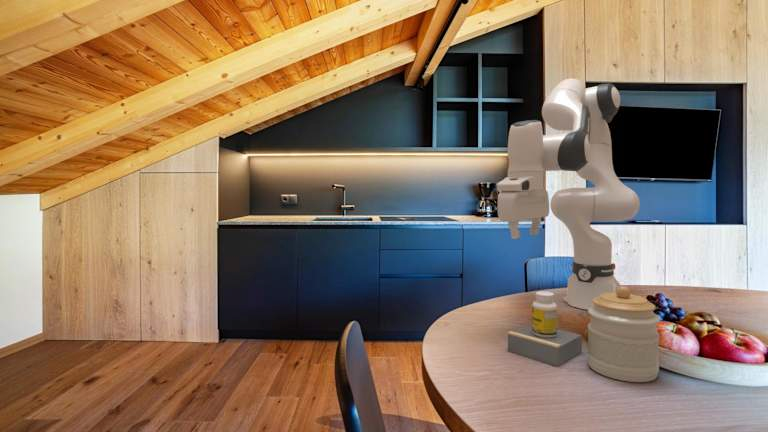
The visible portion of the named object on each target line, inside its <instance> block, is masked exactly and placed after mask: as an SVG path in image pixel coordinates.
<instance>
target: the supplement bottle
mask: <svg viewBox="0 0 768 432" xmlns="http://www.w3.org/2000/svg"><path fill="white" fill-rule="evenodd" d="M535 299H536V300H535V301H533V302H532V305H531V306H532V307H531V308H532V313H531V314H532V319H531V320H532V321H531V322H532V323H531V324H532V332H533V334H534V335H536V336H539V337H543V338H552V337H555V336H556V335H557V329H558V305H557V303H556V302H554V300H555V294H554V293H553V292H551V291H542V290H541V291H536V292H535Z"/></svg>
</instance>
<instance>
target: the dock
mask: <svg viewBox="0 0 768 432" xmlns="http://www.w3.org/2000/svg"><path fill="white" fill-rule="evenodd" d="M582 344H583V334H579V333H574V332H571V331H567V330H562V329H559V328H557V335H556V336H555V337H552V338H543V337H539V336H536V335H534V334H533V332H532V323H531V324H528V325H526V326H524V327H521V328H519V329H516V330H515V331H512V330H510V331H507V351H508V352H510V353H513V354H517V355H520V356H523V357H526V358H530V359H533V360H536V361H539V362H543V363H546V364H549V365H551V366H555V367H559V366H561V365H563V364H564V363H565V362H568V361H570V360H571V359H572V358H574V357H576V356H577V355H579V354H581V353H582V352H583V348H582V346H583V345H582Z"/></svg>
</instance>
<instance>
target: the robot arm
mask: <svg viewBox="0 0 768 432" xmlns="http://www.w3.org/2000/svg"><path fill="white" fill-rule="evenodd" d="M620 106H621V95H620V92H619V90H618V89H617V87H616V86H615V85H614V84H612V83H601V84H598V85H595V86H592V87H587V88H586V85H585V84H584V83H583V82H582V81H581V80H580V79H577V78H571V77H570V78H566V79H563V80H561V81H560V82H559V83H558V84H556V86H555V87H553V88H552V90H551V91H550V93H549V94H548V95H547V97H546V99H545V100H544V102H543V105H542V107H541V116H542V120H543V121H544V122H545V124H546V125H547V126H548V127H550V128H551V129H553V130H556V131H570V132H564V133H556V134H553V133H552V134H545V135H544V133H543V132H544V131H543V124H542V122H541V121H540V120H537V119H532V120H531V119H530V120H529V119H528V120H523V121H517V122H514V123H512V124H511V125H510V128H509V132H508V139H507V159H508V168H507V176H506V177H504V179H502V180H501V181H499V182H497V184H496V191H497V192H499V193H498V195H497V216H498V219H499V221H500V222H506V223H507V226H508V229H509V231H510V237H511V239H512V240H513V239H514V240H517V239H520V238H521V231H520V230H519V227H518V226H519V222H520V221H527V220H530V221H531V226H530V227H529V235H530V236H535V235H536V236H537V235H539V228H540V225H541V222H542V218H546V217H549V214H550V209H551V212H552V214H553V215H554V217H555V218H557V219H558V220H559V221H560V222H562V224H564V225H565V227H566V228H567V230H568V231H569V233H570V235H571V239H572V244H573V246H572V247H573V261H572V264H571V273H572V274H571V275H570V276H569V277H568V278H567V289H566V296H563V297H562V301H563V302H566V303H567V304H568V305H569V306H571V307H574V308H578V309H582V310H587V311H588V309H589V308H591V307H593V306H594V303H593V301H592V300H593V299H594V298H595V297H598V296H600V295H601V294H603V293H616V289H617V288H618V287H620V286H622V285H621V283H619V281H618V280H617V279H616V277H615V272H614V271H615V270H616V263H612V256H613V255H612V251H613V248H612V247H613V244H612V241H611V238H610V237H609V236H607V235H606V234H604V233H602V232H600V231H597V230H596V229H593V227H592V226H591V223H592V222H622V221H625V220H626V221H627V220H631V219H633V218H634V217H635V216H636V215H637V214H638V212H639V210H640V208H641V204H640V202H641V201H640V198H639V196H638V194H637V193H636V192H635V190H633V189H631V188H630V187H628V186H627V185H625V184H624V183H623V182H622V181H621V180H620V179H619V177H618V176H617V174H616V172H615V169H614V164H613V149H612V146H613V145H612V138H611V137H612V136H611V131H610V128H609V125H608V123H609V124H610V123H611V122H612V120H613V119H614V116H615V115H616V114H617V113H618V112H619V109H620ZM552 171H553V172H554V171H556V172H557V171H567V172H568V171H569V172H575V173H576V175H578V176H579V177H580V178H582V179H583V180H585V181H588V182H590V183H592V184H593V185H594V186H593V187H569V188H563V189H560V190H557V191H556V192H555V193H553V195H552V197H551V199H549V198H550V197H549V193H548V191H547V189H546V187H545V185H544V184H545V183H544V179H545V178H544V177H545V175H544V174H545V172H552Z"/></svg>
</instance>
